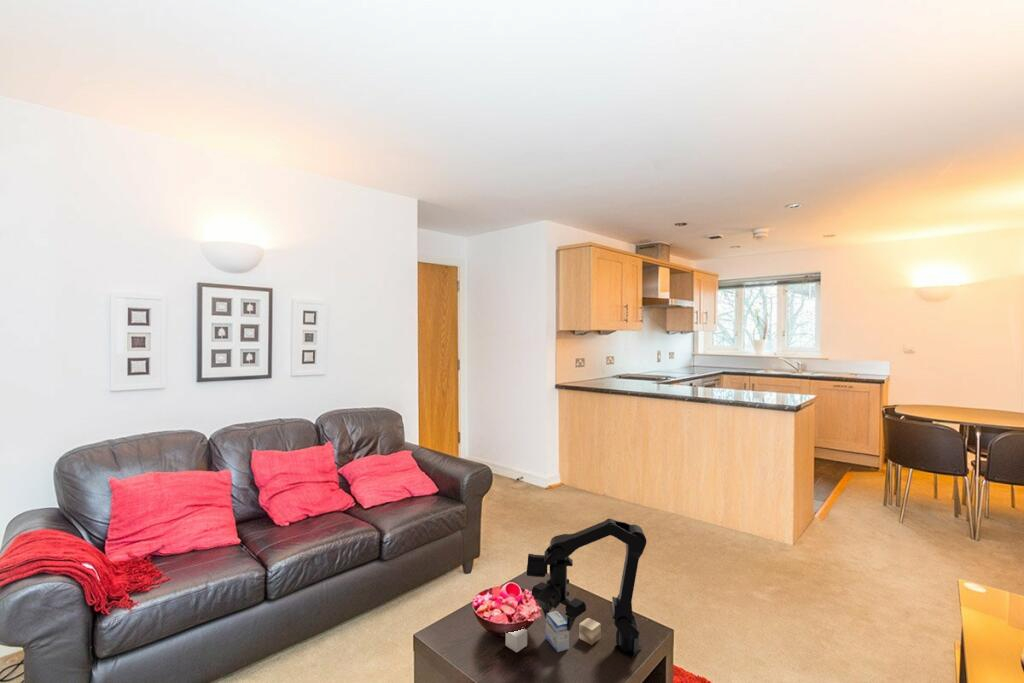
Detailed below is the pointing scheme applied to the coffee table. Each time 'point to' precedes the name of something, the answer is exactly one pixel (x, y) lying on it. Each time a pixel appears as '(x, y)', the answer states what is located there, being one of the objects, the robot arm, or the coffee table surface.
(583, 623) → the maple cube
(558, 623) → the medicine box
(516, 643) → the grey plastic cube
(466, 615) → the coffee table surface
